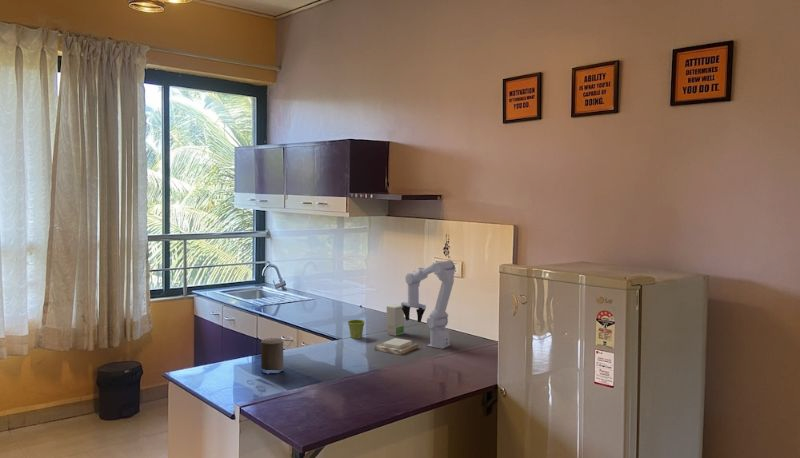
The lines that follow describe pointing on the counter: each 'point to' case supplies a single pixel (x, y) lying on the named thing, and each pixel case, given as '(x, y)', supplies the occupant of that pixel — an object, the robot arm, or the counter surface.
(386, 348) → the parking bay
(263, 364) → the pillar candle
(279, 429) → the counter surface
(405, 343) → the cream tile slab
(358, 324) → the plant pot
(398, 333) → the skincare box
